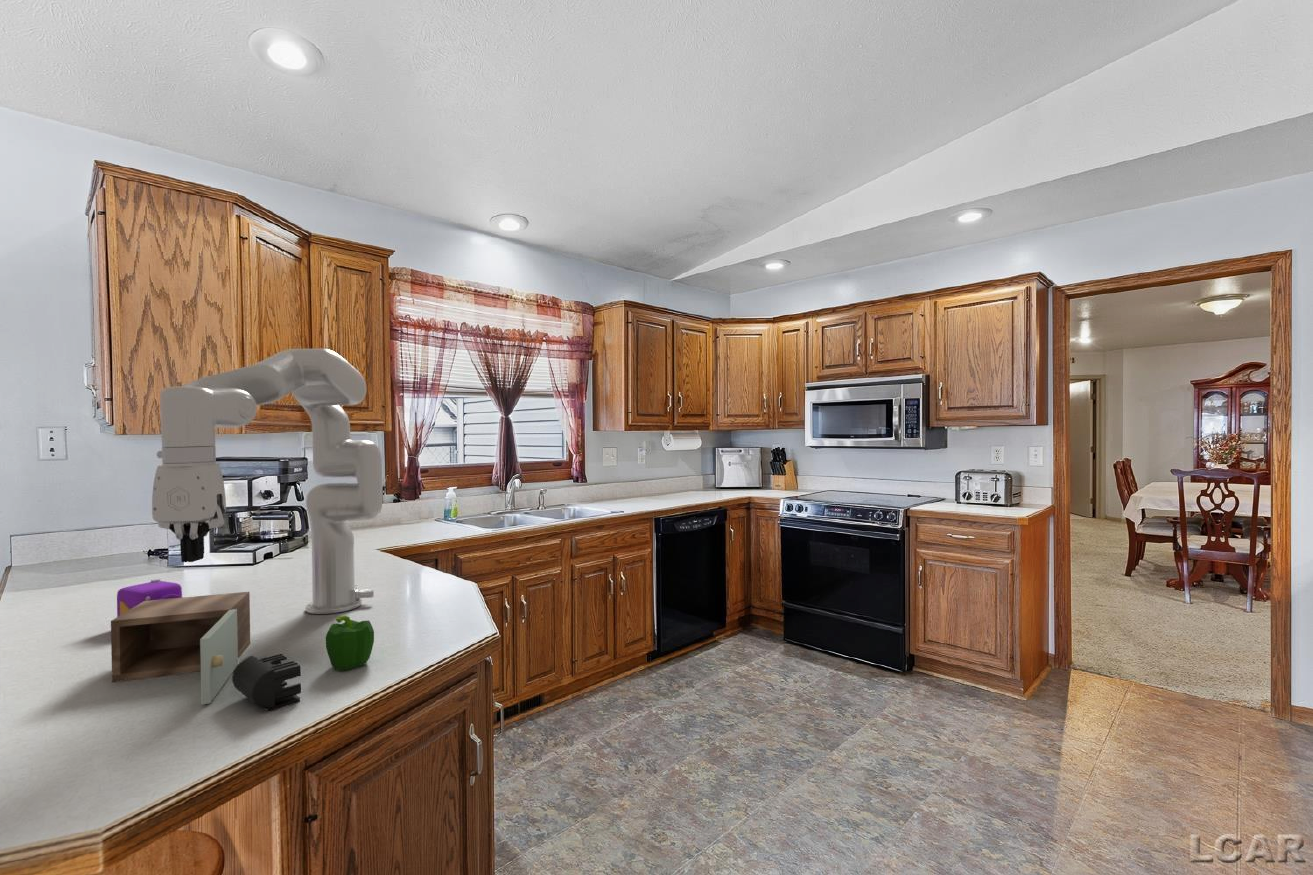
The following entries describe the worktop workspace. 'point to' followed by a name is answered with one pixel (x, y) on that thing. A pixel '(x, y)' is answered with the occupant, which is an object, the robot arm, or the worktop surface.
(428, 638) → the worktop surface
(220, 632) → the door
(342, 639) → the bell pepper
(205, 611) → the cabinet
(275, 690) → the end cap
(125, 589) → the toy camera
